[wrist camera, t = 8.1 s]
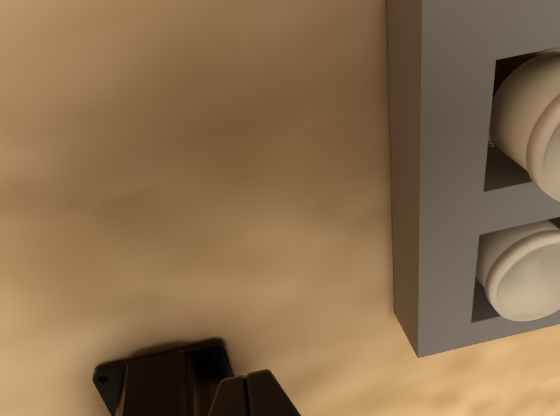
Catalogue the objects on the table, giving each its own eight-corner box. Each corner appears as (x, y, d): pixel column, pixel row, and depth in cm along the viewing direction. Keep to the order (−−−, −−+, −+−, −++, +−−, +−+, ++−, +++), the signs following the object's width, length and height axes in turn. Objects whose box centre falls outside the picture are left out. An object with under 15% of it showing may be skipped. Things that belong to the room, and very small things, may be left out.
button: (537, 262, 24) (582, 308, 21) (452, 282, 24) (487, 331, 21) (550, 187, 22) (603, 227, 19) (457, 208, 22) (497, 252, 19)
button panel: (575, 270, 26) (617, 310, 23) (394, 312, 25) (417, 357, 23) (714, -311, 14) (831, -359, 12) (380, -259, 13) (425, -298, 11)
